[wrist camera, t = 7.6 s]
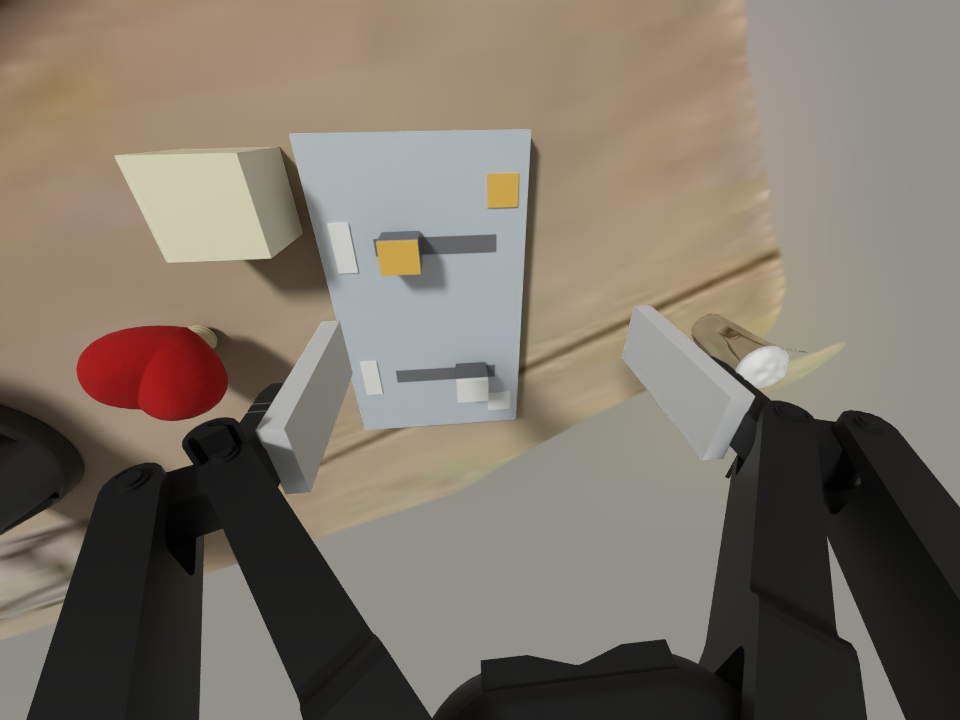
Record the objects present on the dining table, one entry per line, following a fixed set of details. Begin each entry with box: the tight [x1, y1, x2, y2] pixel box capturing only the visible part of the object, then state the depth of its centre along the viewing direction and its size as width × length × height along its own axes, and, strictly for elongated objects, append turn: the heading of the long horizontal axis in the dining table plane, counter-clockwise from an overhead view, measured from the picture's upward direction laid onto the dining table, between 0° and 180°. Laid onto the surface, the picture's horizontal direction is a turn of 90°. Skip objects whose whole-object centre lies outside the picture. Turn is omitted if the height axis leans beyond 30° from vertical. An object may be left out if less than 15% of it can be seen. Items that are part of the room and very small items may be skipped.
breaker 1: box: [376, 231, 423, 276], centre depth 28 cm, size 3×2×3 cm
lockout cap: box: [114, 147, 303, 263], centre depth 26 cm, size 7×6×7 cm
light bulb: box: [77, 325, 228, 421], centre depth 30 cm, size 9×7×10 cm
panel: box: [289, 129, 531, 430], centre depth 34 cm, size 17×28×2 cm, turn 1°
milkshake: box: [692, 314, 807, 389], centre depth 35 cm, size 4×5×10 cm
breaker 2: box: [455, 362, 488, 403], centre depth 36 cm, size 3×2×3 cm
